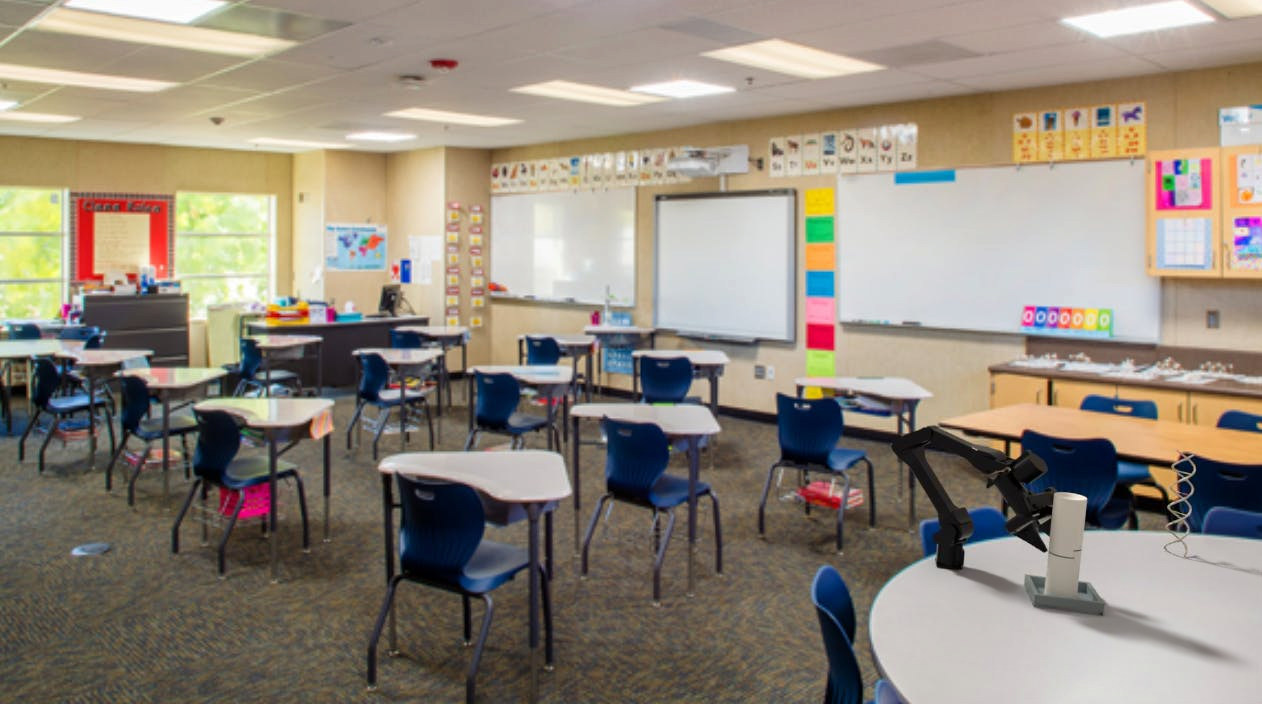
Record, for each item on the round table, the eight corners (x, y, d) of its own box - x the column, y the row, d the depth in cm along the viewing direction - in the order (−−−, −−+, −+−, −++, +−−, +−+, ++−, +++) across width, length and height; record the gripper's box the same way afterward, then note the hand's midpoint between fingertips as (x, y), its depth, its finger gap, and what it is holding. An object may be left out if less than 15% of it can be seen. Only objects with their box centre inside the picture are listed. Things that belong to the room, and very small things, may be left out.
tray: (1033, 606, 211) (1034, 594, 210) (1023, 585, 225) (1024, 574, 225) (1103, 615, 207) (1104, 603, 206) (1088, 593, 221) (1090, 582, 221)
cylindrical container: (1083, 600, 214) (1094, 499, 211) (1059, 603, 211) (1070, 500, 209) (1060, 590, 220) (1070, 491, 218) (1037, 592, 218) (1047, 492, 216)
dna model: (1156, 550, 260) (1166, 449, 257) (1173, 549, 262) (1183, 449, 259) (1176, 557, 254) (1187, 454, 251) (1193, 556, 256) (1204, 454, 253)
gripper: (1021, 481, 213) (1063, 538, 206) (1056, 472, 225) (1097, 526, 218) (987, 505, 220) (1027, 561, 213) (1023, 495, 232) (1062, 548, 225)
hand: (1054, 548), depth 217 cm, fingers open, 9 cm apart
